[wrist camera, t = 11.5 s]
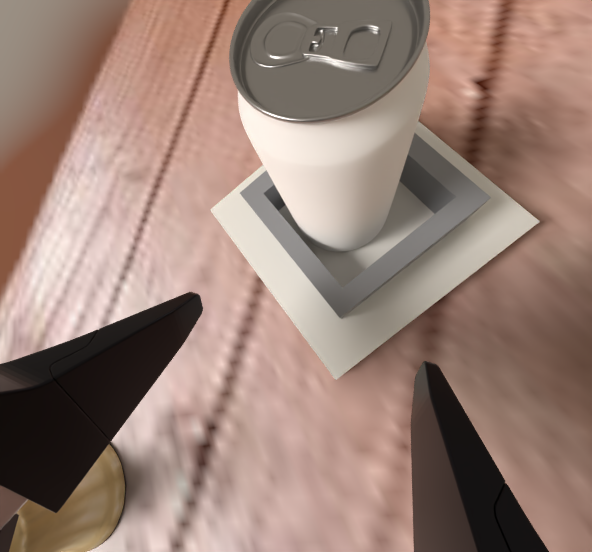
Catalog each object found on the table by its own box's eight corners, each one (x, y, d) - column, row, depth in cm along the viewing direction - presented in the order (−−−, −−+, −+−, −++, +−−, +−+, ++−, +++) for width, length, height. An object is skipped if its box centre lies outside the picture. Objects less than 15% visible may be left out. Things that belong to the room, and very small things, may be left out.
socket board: (336, 375, 18) (332, 391, 14) (219, 217, 23) (187, 192, 18) (524, 229, 17) (581, 199, 13) (364, 93, 22) (367, 36, 17)
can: (312, 162, 20) (257, -59, 8) (399, 178, 18) (478, -69, 7) (285, 240, 19) (184, 117, 8) (372, 264, 18) (408, 154, 6)
